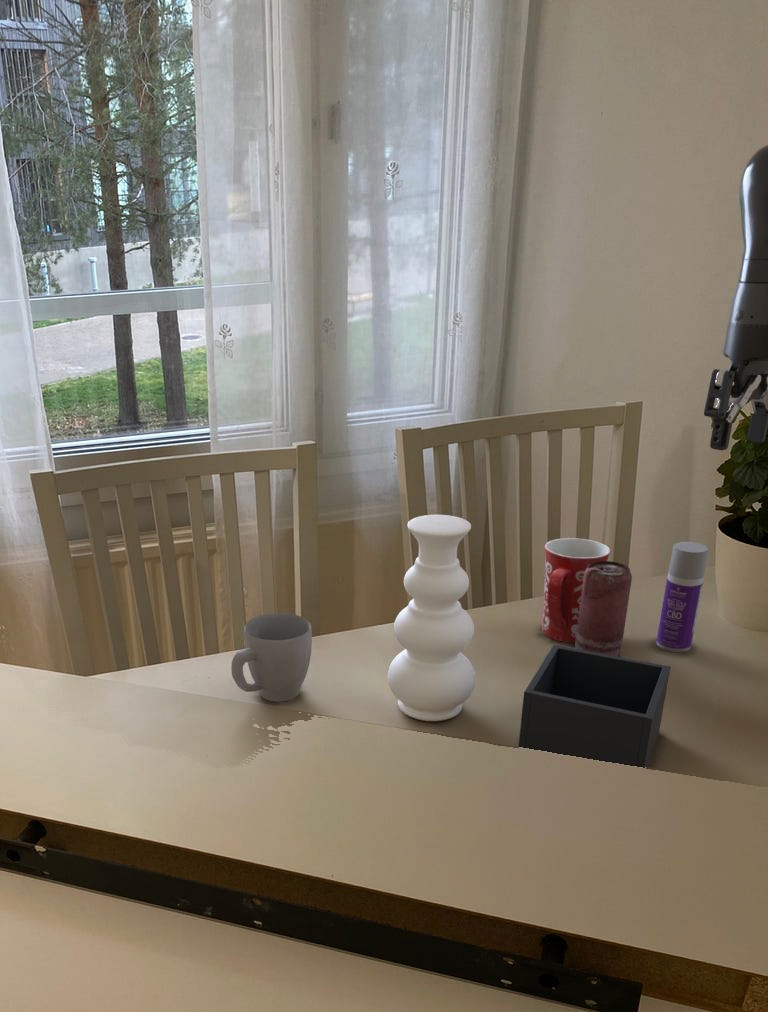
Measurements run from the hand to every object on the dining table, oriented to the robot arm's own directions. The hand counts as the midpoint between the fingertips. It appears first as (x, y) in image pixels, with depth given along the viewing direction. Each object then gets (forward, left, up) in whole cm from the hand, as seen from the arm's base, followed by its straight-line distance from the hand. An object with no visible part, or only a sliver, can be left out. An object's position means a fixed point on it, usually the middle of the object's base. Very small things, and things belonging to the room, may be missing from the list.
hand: (737, 445), depth 124 cm
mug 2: (+18, +11, -28) cm, 35 cm away
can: (+12, +17, -28) cm, 35 cm away
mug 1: (+48, +46, -28) cm, 72 cm away
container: (+3, +7, -28) cm, 29 cm away
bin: (+8, +40, -28) cm, 49 cm away
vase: (+28, +40, -28) cm, 56 cm away
